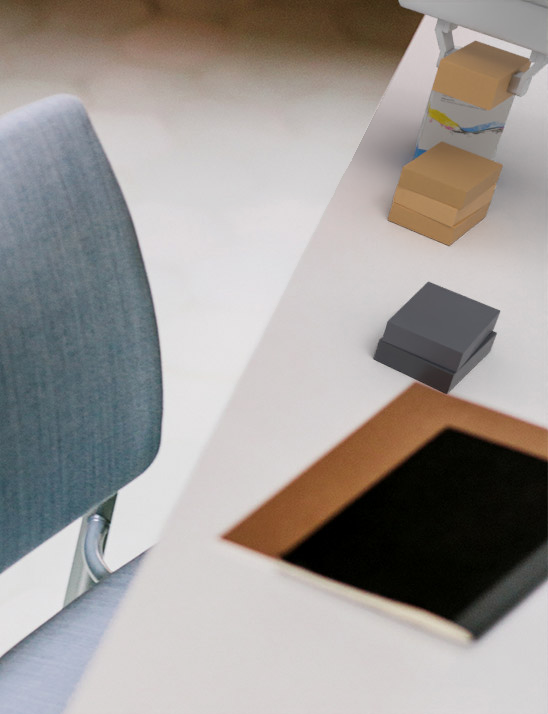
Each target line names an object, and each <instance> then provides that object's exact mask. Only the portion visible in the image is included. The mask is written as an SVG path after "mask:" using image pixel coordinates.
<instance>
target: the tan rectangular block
mask: <svg viewBox="0 0 548 714" xmlns="http://www.w3.org/2000/svg"><path fill="white" fill-rule="evenodd" d="M462 47H463V48H461V49H459V50H457V51H455V52H453V53H452V54H450V55H448V56H446V57H444V58H443V59H441V60H440V63H439V67H437V71H436V74H435V77H434V80H433V83H434V84H432V87H431V90H434V91H436V92H439V93H442V94H445V95H447V96H450V97H453V98H456V99H458V100H461V101H464V102H467V103H469V104H472V105H475V106H478V107H480V108H483V109H486V110H489V111H490V110H491V109H493V108H494V107H496V106H497V105H499V104H500V103H502V102H503V101H505V100H506V99H508V98H510V97H511V96H513V94H511V93H508V92H507V88H508V86H509V85H510V83H509V82H510V79H511V76H512V75H513V74H515V73H516V72H518V71H521V72H524V73H525V72H526V71H527V70H528V69H529V68H530V67H531V66H532V65H531V64H532V62H530V61H529V58H530V57H529V58H528V57H525V56H524V55H519V54H516V53H513V52H511V51H508V50H506V49H502V48H498V47H496V46H494V45H490V44H487V43H484V42H481V41H479V40H474V41H472V42H470V43H468V44H466V45H464V46H462Z"/></svg>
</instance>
